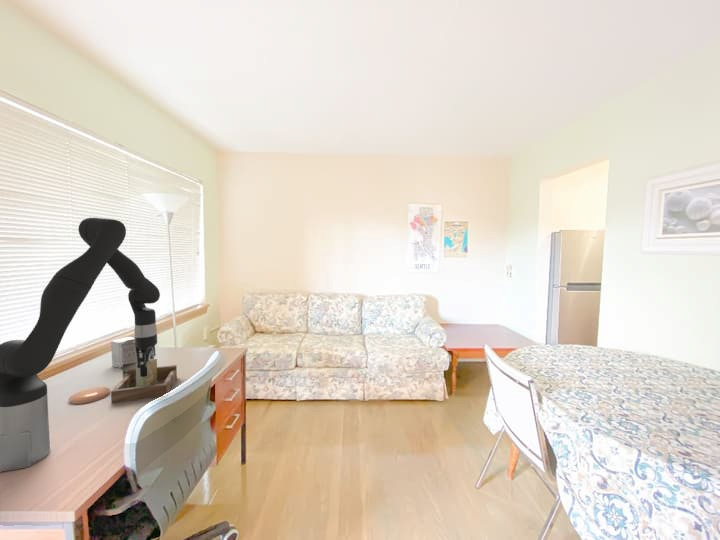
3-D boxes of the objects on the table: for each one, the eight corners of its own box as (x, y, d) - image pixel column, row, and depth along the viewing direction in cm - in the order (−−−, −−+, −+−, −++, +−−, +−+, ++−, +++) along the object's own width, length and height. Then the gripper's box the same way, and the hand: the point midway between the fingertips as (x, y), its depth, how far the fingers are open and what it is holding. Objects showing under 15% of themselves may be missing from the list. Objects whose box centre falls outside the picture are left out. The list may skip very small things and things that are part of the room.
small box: (129, 361, 155) (128, 336, 154) (137, 362, 153) (136, 337, 152) (111, 366, 147) (110, 340, 146) (120, 368, 145) (119, 342, 144)
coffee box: (140, 378, 135) (139, 343, 134) (122, 380, 132) (121, 345, 131) (144, 370, 143) (143, 337, 142) (128, 372, 140) (127, 339, 139)
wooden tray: (166, 395, 119) (166, 381, 118) (111, 403, 112) (110, 387, 112) (176, 377, 136) (176, 364, 135) (129, 383, 129) (128, 369, 129)
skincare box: (144, 393, 120) (143, 364, 120) (135, 392, 121) (134, 363, 121) (158, 386, 127) (157, 358, 126) (149, 385, 128) (148, 357, 127)
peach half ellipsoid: (101, 401, 114) (101, 398, 114) (61, 406, 110) (61, 403, 109) (115, 387, 125) (115, 385, 125) (79, 391, 121) (78, 389, 121)
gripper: (151, 338, 117) (152, 378, 118) (161, 329, 131) (162, 364, 132) (128, 340, 115) (130, 380, 116) (141, 330, 128) (142, 366, 129)
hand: (147, 372), depth 124 cm, fingers open, 8 cm apart
